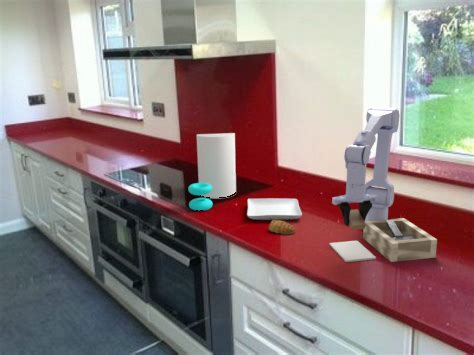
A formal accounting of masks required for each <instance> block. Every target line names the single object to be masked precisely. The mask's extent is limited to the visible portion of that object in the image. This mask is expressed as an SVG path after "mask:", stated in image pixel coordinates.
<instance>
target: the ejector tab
mask: <svg viewBox="0 0 474 355" xmlns="http://www.w3.org/2000/svg"><path fill="white" fill-rule="evenodd" d="M387 220H388V221H386V224H387V226H388V227H389V229H390V231H391V233H392V234H393V236H394V237H393V238H392V239H393V240H395V241H398V240H409V239H416V238H415V237H414V236H404V235H403V234H401V232H400V231H399V229H398V227H397V226H396V224H395V222H394V221H393V220H389V219H387Z"/></svg>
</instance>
